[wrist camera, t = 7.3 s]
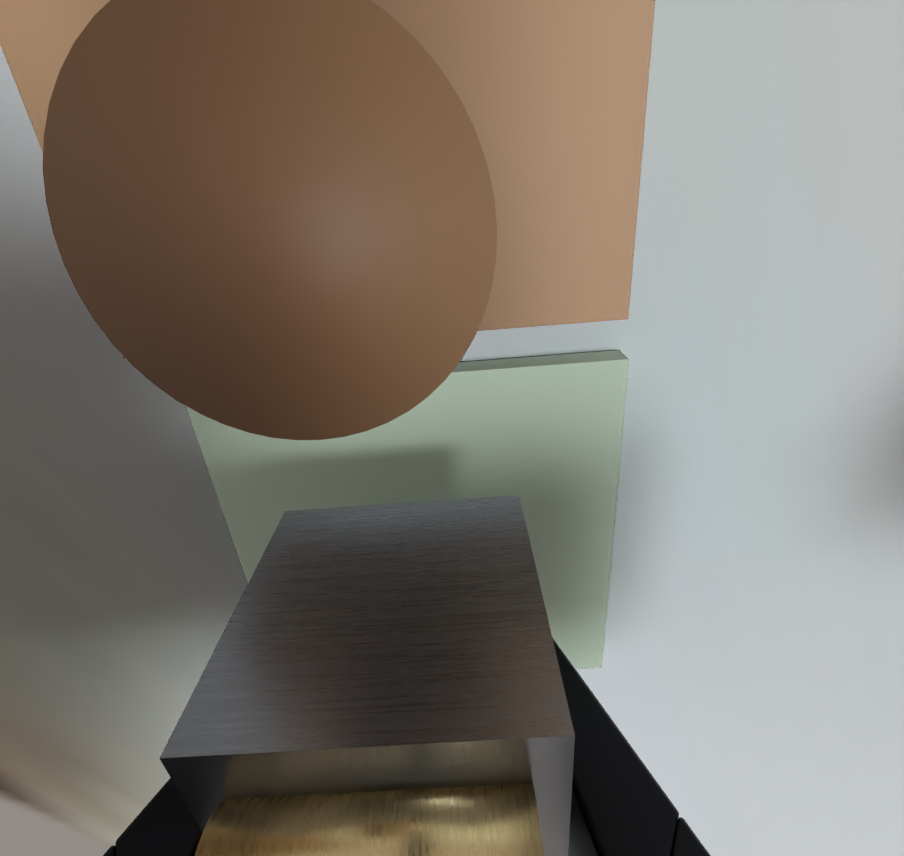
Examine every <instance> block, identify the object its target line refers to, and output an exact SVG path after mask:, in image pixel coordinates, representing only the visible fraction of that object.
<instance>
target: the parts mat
mask: <svg viewBox="0 0 904 856" xmlns="http://www.w3.org/2000/svg"><path fill="white" fill-rule="evenodd" d="M628 363H629V359H628V358H627V357H626V356H625V355H624V354H623V353H622V352H621V351H620V350H614V351H601V352H587V353H574V354H561V355H548V356H535V357H522V358H509V359H496V360H482V361H469V362H459V363H458V365H457V366H456V367H455V368H454V370H453V371H452V372H451V374H450V375H449V376H448V377H447V379H446V380H445V381H444V382H443V383H442V384H441V385H440V386H439V387H438V388H437V389H436V390H435V391H434V392H433V393H432V394H431V395H429V396H428V397H427V398H426V399H425V400H423V401H422V402H420V403H419V404H418V405H416V406H415V407H414V408H412V409H411V410H410V411H408V412H406V413H405V414H403V415H401V416H399V417H397V418H396V419H394V420H392V421H390V422H388V423H386V424H383V425H381V426H378V427H376V428H373V429H371V430H368V431H365V432H361V433H357V434H354V435H350V436H346V437H340V438H332V439H325V440H289V439H279V438H271V437H267V436H262V435H257V434H253V433H248V432H245V431H242V430H239V429H236V428H233V427H230V426H227V425H224V424H222V423H219V422H217V421H215V420H213V419H210V418H208V417H206V416H204V415H202V414H200V413H198V412H196V411H194V410H193V409H191V408H189V407H187V406H186V405H185V407H186V409H187V412H188V415H189V418H190V421H191V424H192V427H193V429H194V432H195V435H196V438H197V441H198V444H199V447H200V449H201V452H202V455H203V458H204V461H205V464H206V467H207V469H208V472H209V475H210V478H211V481H212V484H213V487H214V489H215V492H216V495H217V498H218V501H219V504H220V507H221V509H222V512H223V515H224V518H225V521H226V524H227V527H228V529H229V532H230V535H231V538H232V541H233V544H234V547H235V549H236V552H237V555H238V558H239V561H240V564H241V567H242V569H243V572H244V575H245V578H246V581H247V584H248V583H249V581H250V579H251V577H252V575H253V573H254V571H255V569H256V567H257V565H258V563H259V561H260V559H261V557H262V555H263V553H264V551H265V549H266V547H267V545H268V543H269V541H270V539H271V538H272V536H273V534H274V532H275V530H276V528H277V526H278V524H279V522H280V520H281V518H282V516H283V514H284V512H285V511H294V510H308V509H323V508H337V507H352V506H367V505H381V504H396V503H410V502H425V501H440V500H454V499H469V498H483V497H498V496H513V495H519V496H520V501H521V505H522V509H523V514H524V518H525V522H526V527H527V531H528V535H529V540H530V544H531V548H532V552H533V557H534V561H535V565H536V570H537V574H538V578H539V583H540V587H541V591H542V595H543V600H544V604H545V608H546V613H547V617H548V621H549V626H550V630H551V634H552V637H553V639H554V640H555V642H556V643H557V644H558V646H559V647H560V648H561V650H562V651H563V653H564V654H565V655H566V657H567V658H568V660H569V661H570V662H571V664H572V665H573V666H574V668H575V669H586V668H602V658H603V647H604V635H605V624H606V612H607V601H608V590H609V578H610V567H611V556H612V544H613V533H614V522H615V510H616V499H617V488H618V476H619V465H620V453H621V442H622V431H623V419H624V408H625V397H626V385H627V374H628Z"/></svg>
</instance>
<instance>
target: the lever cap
mask: <svg viewBox="0 0 904 856" xmlns="http://www.w3.org/2000/svg"><path fill="white" fill-rule="evenodd" d="M574 745H575V733H574V729H573V725H572V720H571V716H570V712H569V707H568V703H567V699H566V695H565V690H564V686H563V682H562V677H561V673H560V669H559V664H558V660H557V656H556V651H555V647H554V643H553V639H552V634H551V630H550V626H549V621H548V617H547V613H546V608H545V604H544V600H543V595H542V591H541V587H540V583H539V578H538V574H537V570H536V565H535V561H534V557H533V552H532V548H531V544H530V540H529V535H528V531H527V527H526V522H525V518H524V514H523V509H522V505H521V501H520V496H519V495H513V496H498V497H483V498H469V499H454V500H440V501H425V502H410V503H396V504H381V505H367V506H352V507H337V508H323V509H308V510H294V511H285V512H284V514H283V516H282V518H281V520H280V522H279V524H278V526H277V528H276V530H275V532H274V534H273V536H272V538H271V539H270V541H269V543H268V545H267V547H266V549H265V551H264V553H263V555H262V557H261V559H260V561H259V563H258V565H257V567H256V569H255V571H254V573H253V575H252V577H251V579H250V581H249V583H248V585H247V587H246V589H245V591H244V593H243V595H242V597H241V599H240V601H239V603H238V605H237V607H236V609H235V611H234V613H233V614H232V616H231V618H230V620H229V622H228V624H227V626H226V628H225V630H224V632H223V634H222V636H221V638H220V640H219V642H218V644H217V646H216V648H215V650H214V652H213V654H212V656H211V658H210V660H209V662H208V664H207V666H206V668H205V670H204V672H203V674H202V676H201V678H200V680H199V682H198V684H197V686H196V688H195V689H194V691H193V693H192V695H191V697H190V699H189V701H188V703H187V705H186V707H185V709H184V711H183V713H182V715H181V717H180V719H179V721H178V723H177V725H176V727H175V729H174V731H173V733H172V735H171V737H170V739H169V741H168V743H167V745H166V747H165V749H164V751H163V753H162V755H161V757H160V760H161V761H162V763H163V765H164V767H165V768H166V770H167V772H168V773H169V775H170V777H171V779H172V780H173V782H174V784H175V785H176V787H177V789H178V791H179V792H180V794H181V796H182V797H183V799H184V801H185V803H186V804H187V806H188V808H189V809H190V811H191V813H192V815H193V816H194V818H195V820H196V821H197V823H198V825H199V827H200V828H201V830H202V832H203V833H202V835H201V838H200V841H199V844H198V846H197V849H196V853H195V856H568V849H569V831H570V814H571V797H572V780H573V762H574Z"/></svg>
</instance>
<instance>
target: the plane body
mask: <svg viewBox="0 0 904 856" xmlns="http://www.w3.org/2000/svg"><path fill="white" fill-rule="evenodd" d="M654 7H655V0H0V44H1V47H2V50H3V52H4V55H5V57H6V60H7V62H8V65H9V67H10V70H11V72H12V75H13V78H14V80H15V83H16V85H17V88H18V90H19V93H20V95H21V98H22V100H23V103H24V106H25V108H26V111H27V113H28V116H29V118H30V121H31V123H32V126H33V128H34V131H35V134H36V136H37V139H38V141H39V144H40V146H41V149H42V151H43V175H44V185H45V195H46V203H47V207H48V212H49V216H50V221H51V225H52V229H53V234H54V237H55V240H56V242H57V245H58V248H59V251H60V254H61V257H62V260H63V262H64V265H65V267H66V269H67V271H68V273H69V275H70V278H71V280H72V282H73V284H74V286H75V288H76V290H77V292H78V294H79V296H80V297H81V299H82V301H83V302H84V304H85V305H86V307H87V309H88V310H89V312H90V314H91V315H92V317H93V319H94V320H95V321H96V323H97V324H98V325H99V327H100V328H101V329H102V331H103V332H104V333H105V334H106V336H107V337H108V338H109V340H110V341H111V342H112V344H113V345H114V346H115V347H116V348H117V349H118V350H119V351H120V352H121V353H122V355H123V358H126V359H127V360H128V361H129V362H130V363H131V364H132V365H133V366H134V367H135V368H136V369H138V370H139V371H140V372H141V373H142V374H143V375H144V376H145V377H147V378H148V379H149V380H150V381H151V382H152V383H153V384H155V385H156V386H157V387H159V388H160V389H162V390H163V391H164V392H166V393H167V394H169V395H170V396H171V397H173V398H174V399H176V400H177V401H179V402H180V403H182V404H184V405H186V406H187V407H189V408H191V409H193V410H194V411H196V412H198V413H200V414H202V415H204V416H206V417H208V418H210V419H213V420H215V421H217V422H219V423H222V424H224V425H227V426H230V427H233V428H236V429H239V430H242V431H245V432H248V433H253V434H257V435H262V436H267V437H271V438H279V439H289V440H325V439H332V438H340V437H346V436H350V435H354V434H357V433H361V432H365V431H368V430H371V429H373V428H376V427H378V426H381V425H383V424H386V423H388V422H390V421H392V420H394V419H396V418H397V417H399V416H401V415H403V414H405V413H406V412H408V411H410V410H411V409H412V408H414V407H415V406H416V405H418V404H419V403H420V402H422V401H423V400H425V399H426V398H427V397H428V396H429V395H431V394H432V393H433V392H434V391H435V390H436V389H437V388H438V387H439V386H440V385H441V384H442V383H443V382H444V381H445V380H446V379H447V377H448V376H449V375H450V374H451V372H452V371H453V370H454V368H455V367H456V366H457V365H458V363H459V362H460V361H461V359H462V358H463V356H464V354H465V353H466V351H467V349H468V347H469V346H470V344H471V342H472V341H473V339H474V337H475V335H476V332H477V331H481V330H494V329H507V328H520V327H533V326H545V325H558V324H571V323H584V322H597V321H610V320H622V319H628V316H629V304H630V292H631V280H632V268H633V256H634V244H635V232H636V221H637V209H638V197H639V185H640V173H641V161H642V149H643V138H644V126H645V114H646V102H647V90H648V78H649V66H650V54H651V43H652V31H653V19H654Z"/></svg>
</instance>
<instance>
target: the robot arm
mask: <svg viewBox="0 0 904 856" xmlns="http://www.w3.org/2000/svg"><path fill="white" fill-rule="evenodd" d="M552 639H553V637H552ZM553 643H554V647H555V651H556V656H557V660H558V664H559V669H560V673H561V677H562V682H563V686H564V690H565V695H566V699H567V703H568V707H569V712H570V716H571V720H572V725H573V729H574V733H575V745H574V762H573V780H572V797H571V814H570V831H569V849H568V856H710V854H709V853H708V852H707V850H706V849H705V848H704V846H703V845H702V844H701V842H700V841H699V839H698V838H697V837H696V835H695V834H694V833H693V831H692V830H691V828H690V827H689V826H688V824H687V823H686V821H685V820H684V819H683V818H681V817H680V818H679V819H678V817H679V812H678V811H677V809H676V808H675V807H674V805H673V804H672V802H671V801H670V800H669V798H668V797H667V795H666V794H665V793H664V791H663V790H662V789H661V787H660V786H659V784H658V783H657V782H656V780H655V779H654V777H653V776H652V775H651V773H650V772H649V770H648V769H647V768H646V766H645V765H644V764H643V762H642V761H641V759H640V758H639V757H638V755H637V754H636V752H635V751H634V750H633V748H632V747H631V746H630V744H629V743H628V741H627V740H626V739H625V737H624V736H623V734H622V733H621V732H620V730H619V729H618V728H617V726H616V725H615V723H614V722H613V721H612V719H611V718H610V716H609V715H608V714H607V712H606V711H605V709H604V708H603V707H602V705H601V704H600V703H599V701H598V700H597V698H596V697H595V696H594V694H593V693H592V691H591V690H590V689H589V687H588V686H587V685H586V683H585V682H584V680H583V679H582V678H581V676H580V675H579V673H578V672H577V671H576V669H575V668H574V666H573V665H572V664H571V662H570V661H569V660H568V658H567V657H566V655H565V654H564V653H563V651H562V650H561V648H560V647H559V646H558V644H557V643H556V642H555V640H554V639H553ZM202 833H203V832H202V830H201V828H200V827H199V825H198V823H197V821H196V820H195V818H194V816H193V815H192V813H191V811H190V809H189V808H188V806H187V804H186V803H185V801H184V799H183V797H182V796H181V794H180V792H179V791H178V789H177V787H176V785H175V784H174V782H173V780H172V779H171V778H170V779H169V780H168V781H167V783H166V784H165V785H164V786H163V787H162V788H161V789H160V791H159V792H158V793H157V794H156V795H155V796H154V798H153V799H152V800H151V801H150V802H149V803H148V804H147V806H146V807H145V808H144V809H143V810H142V811H141V813H140V814H139V815H138V816H137V817H136V818H135V819H134V821H133V822H132V823H131V824H130V825H129V826H128V828H127V829H126V830H125V831H124V832H123V833H122V835H121V836H120V837H119V838H118V839H117V841H116V846H111V847H110V848H109V849H108V850H107V852H106V853H105V854H104V855H103V856H195V853H196V849H197V846H198V844H199V841H200V838H201V835H202Z"/></svg>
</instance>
